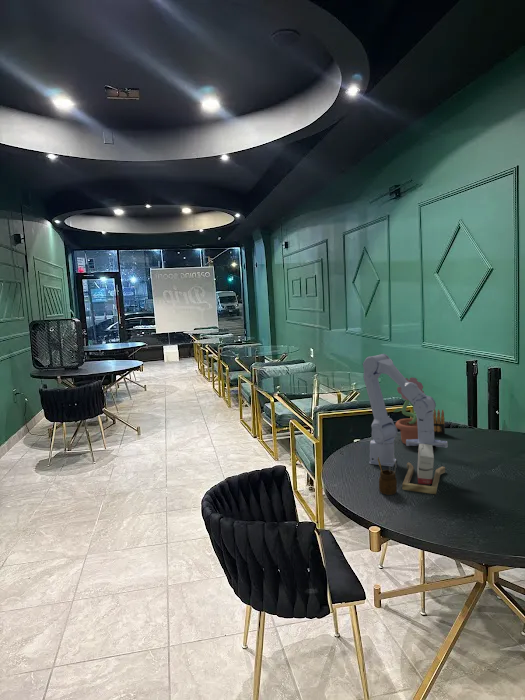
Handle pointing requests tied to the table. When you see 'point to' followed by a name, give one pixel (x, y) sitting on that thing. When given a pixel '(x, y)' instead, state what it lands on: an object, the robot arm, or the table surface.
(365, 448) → the table surface
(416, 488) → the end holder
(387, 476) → the utensil holder
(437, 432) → the ammunition clip
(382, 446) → the robot arm
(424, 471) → the ink box
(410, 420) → the decorative flower
